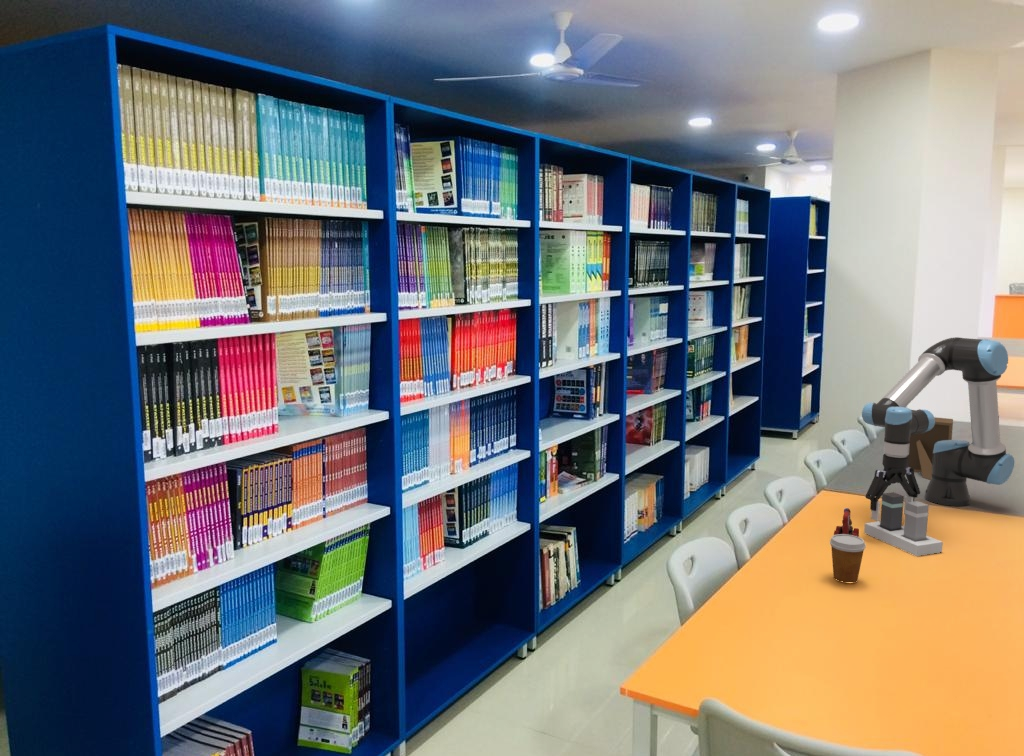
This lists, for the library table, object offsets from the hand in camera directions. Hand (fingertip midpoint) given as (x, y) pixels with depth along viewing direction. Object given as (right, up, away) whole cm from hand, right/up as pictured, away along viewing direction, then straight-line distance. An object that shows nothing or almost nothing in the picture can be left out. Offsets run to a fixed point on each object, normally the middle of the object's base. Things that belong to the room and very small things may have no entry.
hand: (891, 517), depth 258 cm
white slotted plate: (+2, -7, -4) cm, 8 cm away
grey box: (0, -6, +1) cm, 6 cm away
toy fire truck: (-16, -8, -2) cm, 18 cm away
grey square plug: (+3, -8, -8) cm, 12 cm away
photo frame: (+49, +5, +76) cm, 90 cm away
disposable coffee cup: (-29, -12, -32) cm, 45 cm away
